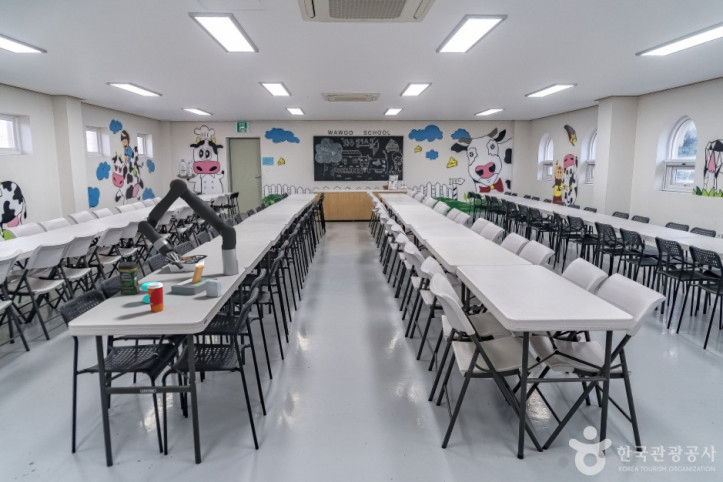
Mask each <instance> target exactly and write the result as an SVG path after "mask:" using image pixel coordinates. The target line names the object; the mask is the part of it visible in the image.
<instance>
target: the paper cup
mask: <svg viewBox="0 0 723 482" xmlns="http://www.w3.org/2000/svg"><path fill="white" fill-rule="evenodd" d="M156 282H157V283H150V284H148V285H147V288H148V291H147V293H148V294H149V300H150V303H149V306H150V311H151V312H152V313H159V312H162V311H164V285H163V283H162V282H159V281H156ZM158 282H159V283H158ZM148 294H147V295H148Z"/></svg>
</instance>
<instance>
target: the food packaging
mask: <svg viewBox="0 0 723 482" xmlns="http://www.w3.org/2000/svg"><path fill="white" fill-rule="evenodd" d="M207 257H208V254H207V255H205V254H196V255H190V256H181V259H182V261H181V262H180V263H181V264H182V265H183V266H184V267H183V269H179V268H178V267H177V266H176V265H171V264H169V263H167V262H165V263H164V264H165V265H166V264H168V266H169V269H170V271H171V273H179V272H183V271H185V272H195V268H196V266H199V265H203V266H204V265H205V259H206V258H207Z"/></svg>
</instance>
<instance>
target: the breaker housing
mask: <svg viewBox="0 0 723 482" xmlns="http://www.w3.org/2000/svg"><path fill="white" fill-rule="evenodd" d="M192 279H193V277H191V278H189V279H186V280H184V281H182V282H178V283H176V284H174V285H171V286H170V289H171V294H179V295H191V296H192V295H193V296H195V295H197V294H201V293H203V292H206V283H205V282H206V281H208V280H218V278H215V277H214V278H213V277H202V276H201V278H200V282H199V283H196V284H191V282H192Z"/></svg>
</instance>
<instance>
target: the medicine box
mask: <svg viewBox="0 0 723 482" xmlns="http://www.w3.org/2000/svg"><path fill="white" fill-rule="evenodd" d="M205 283H206V290H205V293H206V294H205V295H206V297H212V298H220V297H222V296H223V294H224V293H223V292H224V291H223V283H222V280H221V279H220V280H219V279H217V280H208V281H206V282H205ZM219 296H220V297H219Z"/></svg>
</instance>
